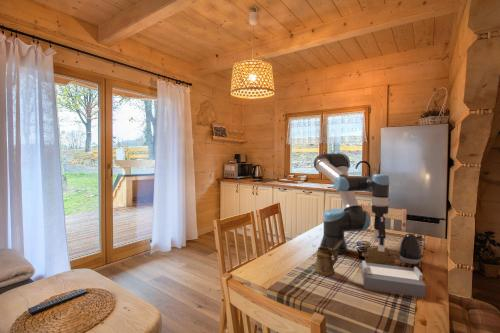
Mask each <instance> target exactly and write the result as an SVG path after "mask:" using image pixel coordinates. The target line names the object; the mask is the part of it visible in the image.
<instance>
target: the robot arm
mask: <svg viewBox="0 0 500 333" xmlns="http://www.w3.org/2000/svg"><path fill="white" fill-rule="evenodd" d="M313 167H314V169H315V170H316V171H317V172H318V173H322V174H323V175H324V176H326V178H327V179H329V180H330V181H331V182H333V186H334V189H335V190H336V191H338V192H339V196H340V199H341V202H342V206H343V208H331V209H327V210H326V211H324V213H323V218H322V219H323V220H322V221H323V235H322V239H321V240H320V245H319V247H328V248H330V249H332V248H333V247H334V245H335V244H336V243H338V242H339V241H340V240H343V242H342V243H341V244H340V246H339V247H338V248H337V249H336V251H337V254H338V255H344V254H346V253H347V252H348V246H347V242H346V240H345V233H348V232H364V231H367V230H368V229H369V228H370V226H371V217H370V216H371V215H370V213H369V212H368V211H367V210H364V208H363V206H362V205H360V204H359V203H358V200H357V196H356V194H355V192H363V191H365V192H367V191H368V192H371V204H372V205H371V212H372V213H373V214H374V224H373V228H374V234H373V235H374V240H373V241H374V243H377V244H378V245H377V246H378V251H382V252H384V249H385V248H386V247H385V243H386V238H387V236H386V223H385V222H386V217H385V216H384V215H387V214H389V206H388V205H389V201H390V198H389V196H390V195H389V193H390V177H389V176H390V175H388V174H380V173H375V174H372V176H368V175H361V176H349V174H348V172H349V170H350V168H351V159H350V158H349V156H348V155H347V154H346V153H341V152H340V153H339V152H337V153H320V154H319V155H317V156H316V157H315V158H314V160H313Z"/></svg>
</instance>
